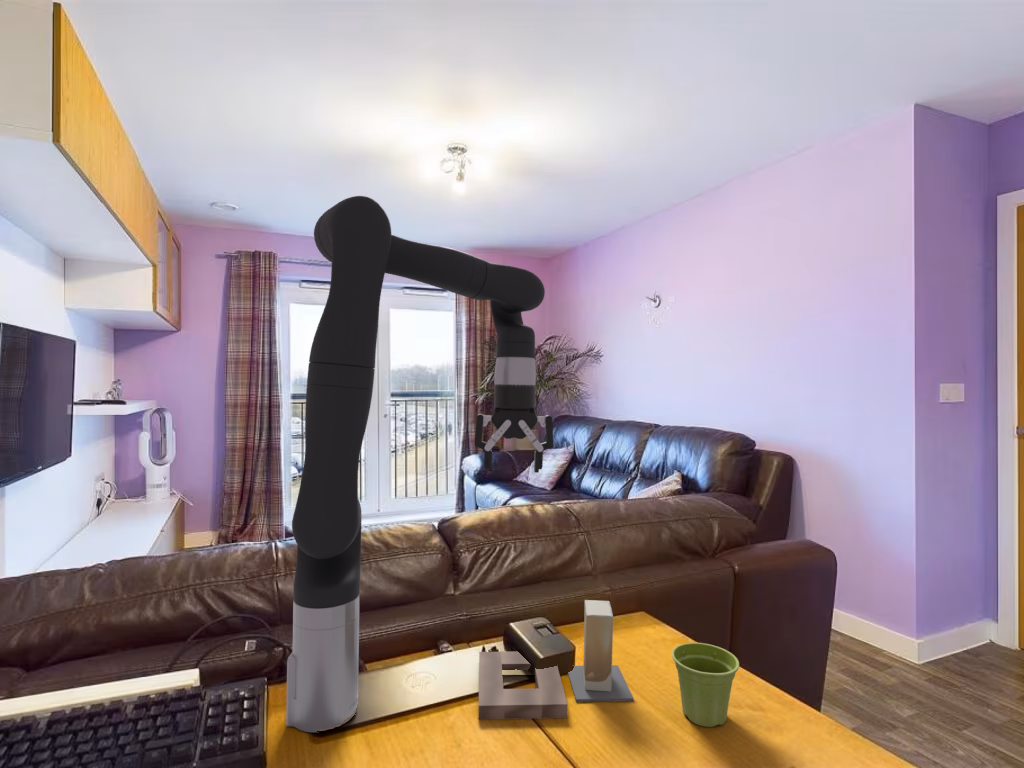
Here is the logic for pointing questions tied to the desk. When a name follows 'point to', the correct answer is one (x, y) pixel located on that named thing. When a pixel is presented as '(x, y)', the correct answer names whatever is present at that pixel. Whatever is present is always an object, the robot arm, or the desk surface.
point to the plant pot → (705, 681)
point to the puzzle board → (518, 690)
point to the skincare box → (598, 645)
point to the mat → (617, 694)
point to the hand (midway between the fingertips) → (513, 471)
